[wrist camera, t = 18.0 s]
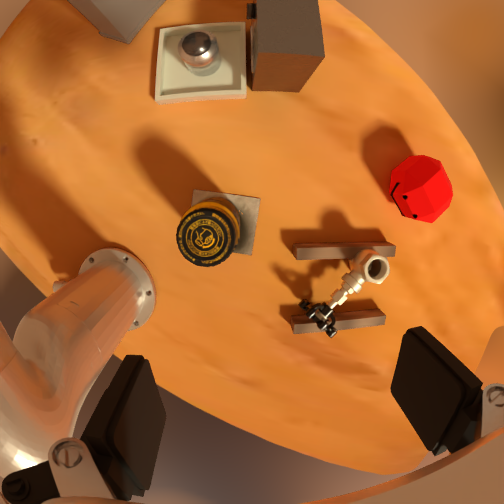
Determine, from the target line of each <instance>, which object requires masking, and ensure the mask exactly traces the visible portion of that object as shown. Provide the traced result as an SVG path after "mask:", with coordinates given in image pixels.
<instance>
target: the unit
mask: <svg viewBox="0 0 504 504" xmlns="http://www.w3.org/2000/svg"><path fill="white" fill-rule="evenodd" d="M247 19H252V23H251V27H250V33H251V73H252V91H283V92H300V90H301V89H302V87H303V86H304V85H305V83H306V82H307V80H308V79H309V78H310V76H311V75H312V74H313V72H314V71H315V70H316V68H317V67H318V66H319V64H320V63H321V62H322V60H323V59H324V58H325V54H324V44H323V35H322V27H321V20H320V13H319V6H318V0H254V2H253V3H247Z"/></svg>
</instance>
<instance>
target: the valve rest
mask: <svg viewBox="0 0 504 504" xmlns="http://www.w3.org/2000/svg"><path fill="white" fill-rule="evenodd" d="M364 249H372V250H374V251H376V252H378V253H379V254H380V256H384V257H394V256H395V249H396V246H395V245H393V244H391V243H389V242H347V243H300V244H293V255H294V257H295V258H296V260H314V259H343V258H354V257H355V256H356V254H357V253H358V252H360V251H361V250H364ZM333 315H334V316H335V318H336V323H335V325H334V326H333V327H335V328H336V329H337V330H345V329H354V328H362V327H370V326H378V325H384V324H385V319H386V315H385V314H384V313H383V312H382V311H381V310H380V309H372V310H362V311H352V312H341V313H333ZM328 320H329V321H330V323H331V322H332V319H331V318H330V317H329V318H328ZM329 321H326V322H327V323H329ZM330 323H329V324H330ZM291 328H292V331H293V334H301V333H314V332H325V330H323V331H321V330H320V329H319V328H318V327H317V324H316V322H315V321H314V320H313V319H309V318H308V317H307V316H306V315H302V316H291Z"/></svg>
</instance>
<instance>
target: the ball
mask: <svg viewBox="0 0 504 504" xmlns="http://www.w3.org/2000/svg"><path fill="white" fill-rule="evenodd" d="M389 193H390V195H391V196H392V198H393V199H394V201H395V203H396V205H397V207H398V208H399V210H400V212H401V215H402V216H405V217H408V218H412V219H415V220H420V221H424V222H429V223H433V222H434V221H435V220H436V219H437V218H438V217H439V216H440V215H441V214H442V213H443V212H444V211H445V210H446V209H447V208H448V207H449V205H450V202H451V200H452V197H453V191H452V185H451V183H450V180H449V178H448V176H447V174H446V172H445V170H444V168H443V166H442V164H441V162H440V161H439V160H436V159H433V158H431V157H428V156H425V155H418V156H409V157H408V158H407V159H406V160H404V161H403V162H402V163H401V164H400V165H398V166H397V167H396V168H395V169H393V170H392V173H391V182H390V189H389Z"/></svg>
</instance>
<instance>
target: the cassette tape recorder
mask: <svg viewBox="0 0 504 504" xmlns="http://www.w3.org/2000/svg"><path fill="white" fill-rule="evenodd" d="M67 1H68V2H70V3H71V4H72V5H73V6H74V7H75V8H76V9H77V10H78V11H79V12H80V13H81V14H82V15H84V16H85V17H86V18H87V19H88V20H89V21H90V22H91V23H92V24H93V25H94V26H95V27H96V28H97V29H98V30H99V31H100V32H99V34H100V35H101V36H104V37H107V38H111V39H114V40H117V41H120V42H123V43H127V44H129V43H130V42H131V41H132V39H133V38H134V37H135V35H136V34H137V33H138V32H139V30H140V29H141V28H142V27H143V26H144V24H145V23H146V22H147V21H148V20H149V18H150V17H151V16H152V15H153V14H154V13H155V11H156V10H157V9H158V8H159V7H160V6H161V5H162V4H163V3H164V2H165V1H166V0H67Z"/></svg>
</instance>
